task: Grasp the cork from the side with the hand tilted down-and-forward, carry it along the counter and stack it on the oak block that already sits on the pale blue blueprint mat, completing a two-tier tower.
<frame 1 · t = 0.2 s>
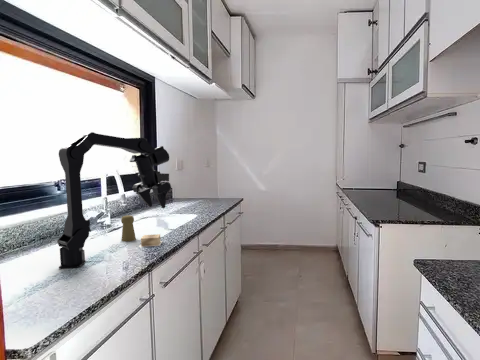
hand: (157, 207, 145), 15 cm above the worktop, tool tilted 15°, fingers open, 9 cm apart
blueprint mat: (144, 245, 145), on the worktop
cork: (128, 241, 155), on the worktop
oak block: (151, 243, 146), point 1 cm above the worktop, touching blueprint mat
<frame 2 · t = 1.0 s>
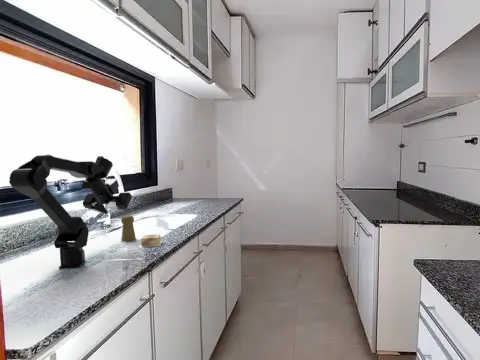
hand: (116, 213, 146), 13 cm above the worktop, tool tilted 45°, fingers open, 9 cm apart
nothing on the worktop moved.
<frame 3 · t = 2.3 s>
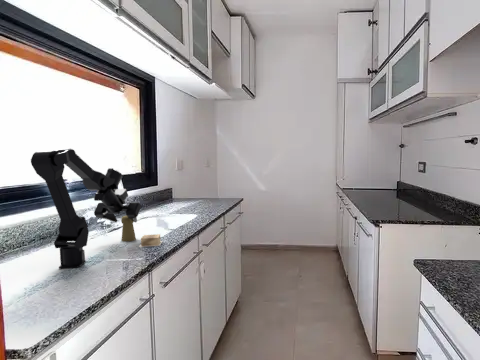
hand: (126, 221, 153), 9 cm above the worktop, tool tilted 45°, fingers open, 9 cm apart
nothing on the worktop moved.
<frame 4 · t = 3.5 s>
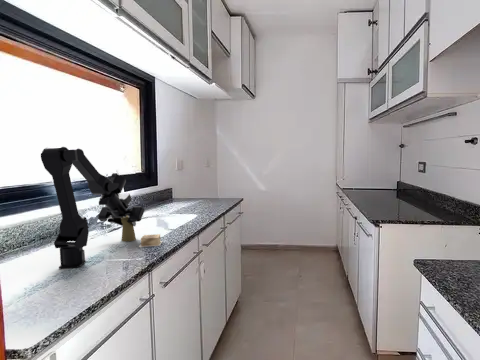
hand: (129, 225, 156), 7 cm above the worktop, tool tilted 45°, fingers closed on cork, 5 cm apart
cork: (128, 241, 155), on the worktop, touching gripper
everything else where it was.
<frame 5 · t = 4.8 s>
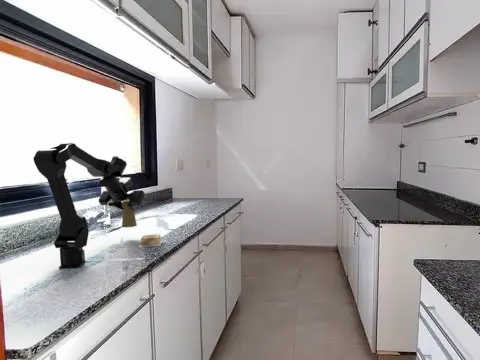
hand: (130, 210, 155), 13 cm above the worktop, tool tilted 45°, fingers closed on cork, 5 cm apart
cork: (129, 226, 154), point 6 cm above the worktop, touching gripper
everything else where it was.
when the fingers open (11 cm above the worktop, at t = 6.4 s): cork stays where it is, resting on oak block.
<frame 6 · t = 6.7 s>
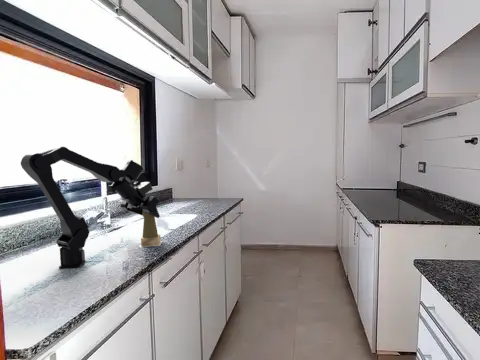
hand: (152, 216, 146), 12 cm above the worktop, tool tilted 45°, fingers open, 8 cm apart
cork: (150, 236, 145), point 3 cm above the worktop, touching oak block
oak block: (151, 243, 146), point 1 cm above the worktop, touching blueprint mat, cork
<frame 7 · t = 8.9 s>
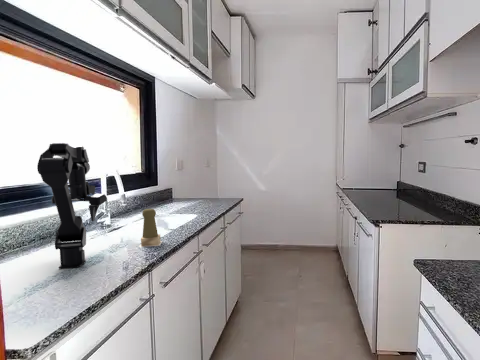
hand: (81, 220, 137), 12 cm above the worktop, tool pointing down, fingers open, 9 cm apart
nothing on the worktop moved.
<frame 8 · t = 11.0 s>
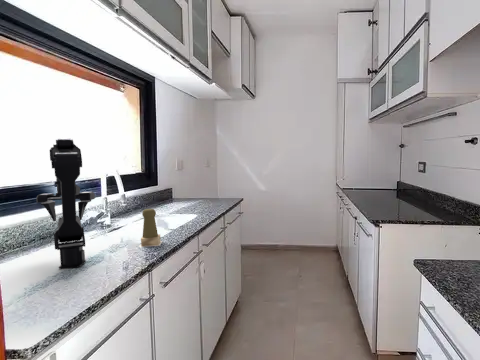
hand: (67, 220, 134), 13 cm above the worktop, tool pointing down, fingers open, 9 cm apart
nothing on the worktop moved.
at the end: cork 0.2 cm off-centre on the oak block, point 2.8 cm above the oak block's base; cork tilted 0°; the gripper is holding nothing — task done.
